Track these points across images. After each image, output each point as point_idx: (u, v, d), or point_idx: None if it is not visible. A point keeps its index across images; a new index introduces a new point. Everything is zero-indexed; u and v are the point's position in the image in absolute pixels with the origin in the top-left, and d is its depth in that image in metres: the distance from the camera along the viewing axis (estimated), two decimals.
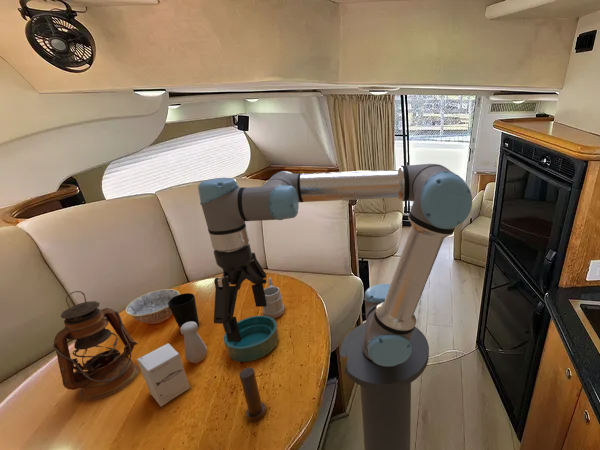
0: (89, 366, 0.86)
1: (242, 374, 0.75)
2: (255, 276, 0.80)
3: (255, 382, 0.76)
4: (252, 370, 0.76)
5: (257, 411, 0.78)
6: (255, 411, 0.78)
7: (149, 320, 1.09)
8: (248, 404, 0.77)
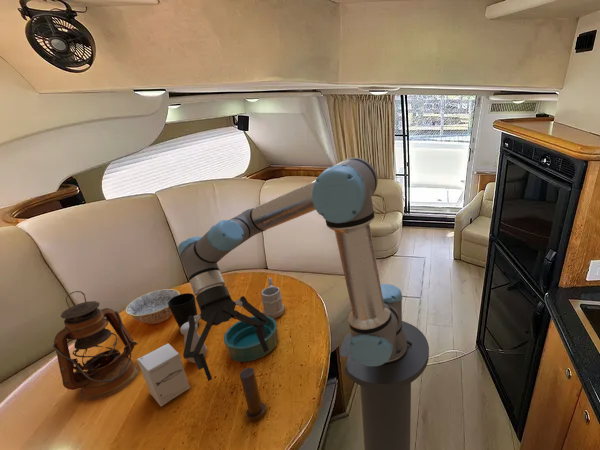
0: (89, 366, 0.86)
1: (242, 374, 0.75)
2: (245, 318, 0.84)
3: (255, 382, 0.76)
4: (252, 370, 0.76)
5: (257, 411, 0.78)
6: (255, 411, 0.78)
7: (149, 320, 1.09)
8: (248, 404, 0.77)
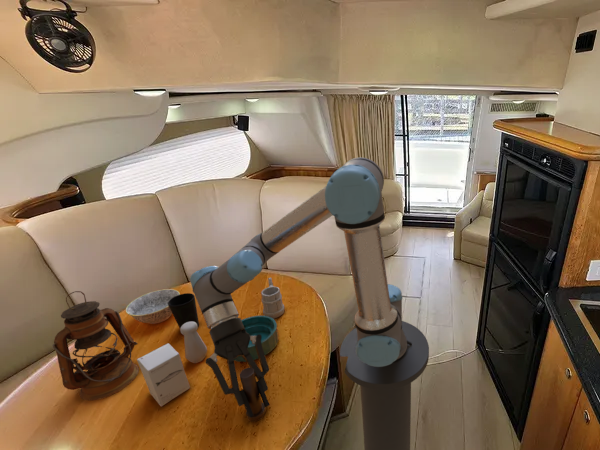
0: (89, 366, 0.86)
1: (242, 374, 0.75)
2: (251, 362, 0.79)
3: (255, 382, 0.76)
4: (252, 370, 0.76)
5: (257, 411, 0.78)
6: (255, 411, 0.78)
7: (149, 320, 1.09)
8: None
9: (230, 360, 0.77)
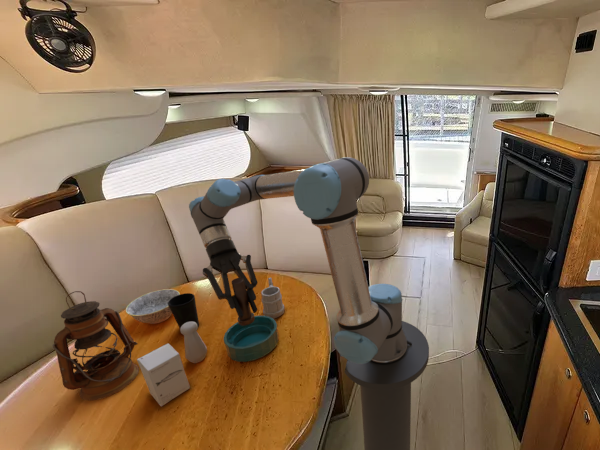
0: (89, 366, 0.86)
1: (234, 281, 0.88)
2: (241, 275, 0.92)
3: (245, 290, 0.89)
4: (242, 279, 0.89)
5: (247, 317, 0.92)
6: (245, 316, 0.91)
7: (149, 320, 1.09)
8: None
9: (223, 271, 0.90)
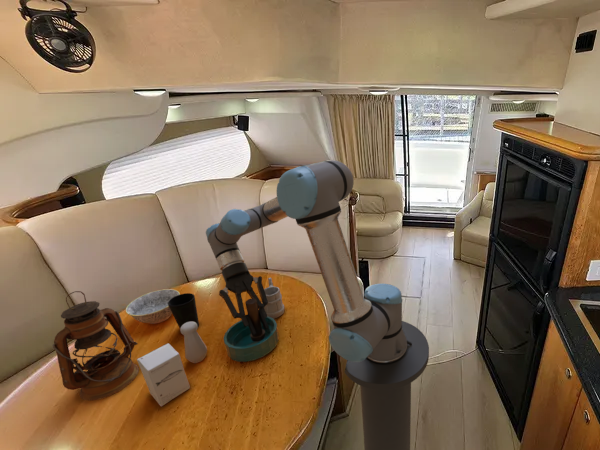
0: (89, 366, 0.86)
1: (247, 302, 0.97)
2: (253, 295, 1.01)
3: (257, 309, 0.99)
4: (255, 300, 0.98)
5: (259, 334, 1.01)
6: (257, 333, 1.01)
7: (149, 320, 1.09)
8: None
9: (238, 292, 0.99)
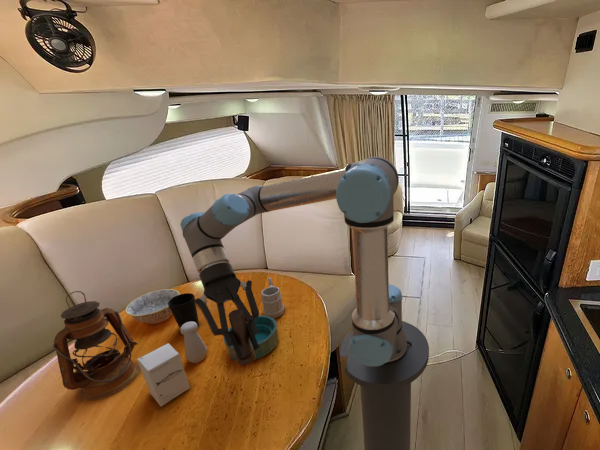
0: (89, 366, 0.86)
1: (231, 314, 0.74)
2: (240, 305, 0.79)
3: (244, 324, 0.76)
4: (241, 311, 0.75)
5: (247, 355, 0.78)
6: (244, 354, 0.78)
7: (149, 320, 1.09)
8: None
9: (219, 302, 0.76)
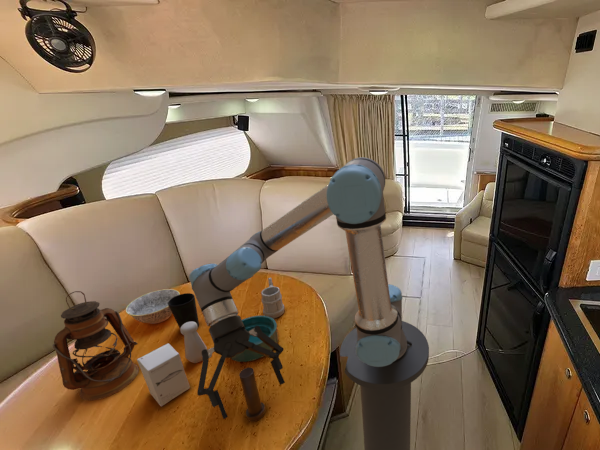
0: (89, 366, 0.86)
1: (242, 374, 0.75)
2: (259, 349, 0.81)
3: (255, 382, 0.76)
4: (252, 370, 0.76)
5: (257, 411, 0.78)
6: (255, 411, 0.78)
7: (149, 320, 1.09)
8: (248, 404, 0.77)
9: (222, 358, 0.76)
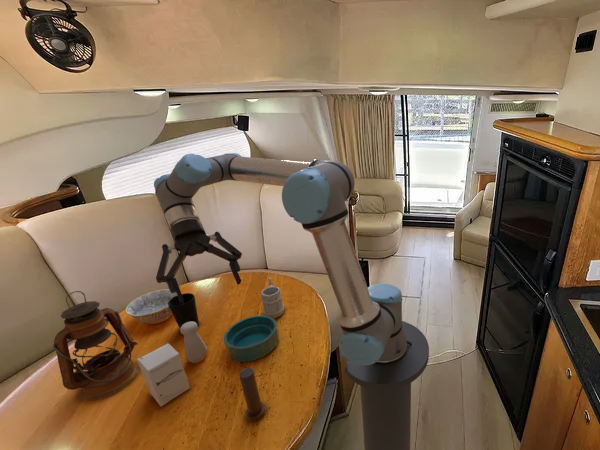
0: (89, 366, 0.86)
1: (242, 374, 0.75)
2: (218, 251, 0.87)
3: (255, 382, 0.76)
4: (252, 370, 0.76)
5: (257, 411, 0.78)
6: (255, 411, 0.78)
7: (149, 320, 1.09)
8: (248, 404, 0.77)
9: (181, 252, 0.82)
